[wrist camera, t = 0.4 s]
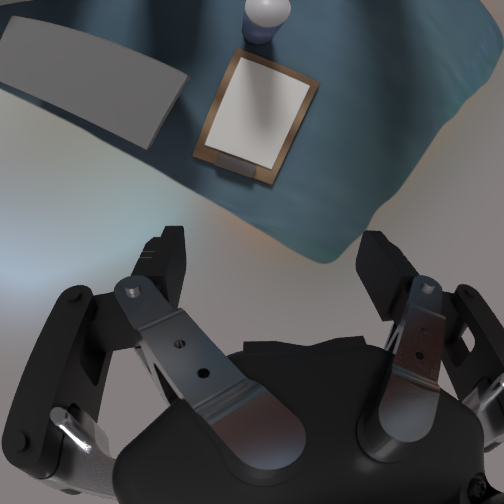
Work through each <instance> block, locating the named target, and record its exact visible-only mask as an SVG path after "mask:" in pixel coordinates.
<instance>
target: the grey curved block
mask: <svg viewBox="0 0 504 504" xmlns="http://www.w3.org/2000/svg"><path fill="white" fill-rule="evenodd" d="M189 79H190V76H188V75H187V74H185V73H183V72H181V71H179V70H177V69H175V68H173V67H171V66H169V65H167V64H165V63H163V62H161V61H158V60H156V59H154V58H152V57H149V56H147V55H145V54H142V53H140V52H138V51H135V50H133V49H130V48H128V47H125V46H122V45H120V44H117V43H115V42H112V41H109V40H106V39H103V38H101V37H98V36H95V35H92V34H89V33H85V32H82V31H79V30H75V29H72V28H68V27H65V26H61V25H57V24H53V23H49V22H45V21H40V20H35V19H29V18H24V17H19V16H12V17H11V19H10V21H9V23H8V25H7V27H6V29H5V31H4V33H3V36H2V38H1V40H0V82H2V83H4V84H7V85H9V86H12V87H14V88H16V89H19V90H21V91H23V92H26V93H28V94H30V95H33V96H35V97H37V98H39V99H42V100H44V101H46V102H48V103H51V104H53V105H55V106H57V107H59V108H62V109H64V110H66V111H68V112H70V113H72V114H74V115H77V116H79V117H81V118H83V119H85V120H87V121H89V122H91V123H93V124H95V125H98V126H100V127H102V128H104V129H106V130H108V131H110V132H112V133H114V134H116V135H118V136H120V137H122V138H124V139H126V140H128V141H130V142H132V143H134V144H136V145H138V146H140V147H142V148H144V149H146V150H147V149H149V148H150V147H151V146H152V144H153V142H154V140H155V138H156V136H157V134H158V132H159V130H160V128H161V127H162V125H163V123H164V121H165V119H166V118H167V116H168V114H169V112H170V110H171V109H172V107H173V105H174V104H175V102H176V100H177V98H178V97H179V95H180V93H181V92H182V90H183V89H184V87H185V85H186V84H187V82H188V80H189Z"/></svg>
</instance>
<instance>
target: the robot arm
mask: <svg viewBox="0 0 504 504" xmlns="http://www.w3.org/2000/svg"><path fill="white" fill-rule="evenodd" d="M185 271H186V250H185V238H184V228H183V226H165V228H164V230H163V233H162V235H161V237H153V238H152V239H151V240H150V241H148V242H147V243H146V244H145V247H144V249H143V252H142V253H141V255H140V258H139V259H138V261H137V263H136V265H135V267H134V270H133V272H132V274H131V276H129V277H126V278H124V279H122V280H120V281H119V282H118V283H117V284H116V286H115V288H114V292H110V293H106V294H100V295H95V296H93V293H92V291H91V289H90V288H89V287H87V286H84V285H77V286H73V287H70V288H68V289H66V290H65V291H64V292H62V293H61V295H60V296H59V298H58V299H57V301H56V303H55V305H54V307H53V309H52V311H51V313H50V315H49V317H48V319H47V321H46V323H45V325H44V327H43V329H42V331H41V333H40V335H39V337H38V339H37V342H36V344H35V346H34V348H33V351H32V353H31V355H30V357H29V360H28V362H27V365H26V367H25V370H24V372H23V375H22V377H21V380H20V382H19V385H18V388H17V391H16V393H15V396H14V400H13V402H12V406H11V408H10V411H9V415H8V418H7V422H6V425H5V429H4V432H3V436H2V449H3V453H4V455H5V457H6V458H7V460H8V461H9V462H10V463H11V464H12V465H14V466H15V467H17V468H19V469H20V470H22V471H24V472H25V473H27V474H28V475H29V476H31V477H32V478H34V479H36V480H38V481H40V482H42V483H44V484H46V485H48V486H50V487H52V488H54V489H58V490H60V491H63V492H65V493H67V494H71V495H77V494H80V493H82V492H83V493H87V494H91V495H95V496H99V497H103V498H108V499H113V500H118V502H119V504H504V493H502V492H500V491H497V490H496V489H494V488H493V487H491V486H490V484H489V483H488V481H487V479H486V476H485V470H484V453H486V452H490V451H491V450H492V449H494V448H495V447H497V446H498V445H500V444H501V443H502V442H504V328H503V326H502V325H501V323H500V322H499V320H498V319H497V318H496V316H495V314H494V313H493V312H492V310H491V309H490V307H489V306H488V304H487V303H486V302H485V300H484V299H483V298H482V296H481V295H480V294H479V292H478V291H477V290H475V289H474V288H473V287H471V286H469V285H465V284H460V285H458V287H457V289H456V290H455V292H454V293H449V292H444V291H442V287H441V286H440V284H439V283H438V282H437V281H435V280H434V279H432V278H430V277H428V276H423V275H419V274H418V272H417V271H416V270H415V268H414V267H413V266H412V264H411V263H410V262H409V261H408V260H407V258H406V257H405V256H404V255H403V253H402V252H401V250H400V249H399V248H398V247H397V246H395V245H394V244H392V243H391V242H389V241H388V239H387V238H386V237H385V235H384V234H383V233H382V232H381V231H368V230H366V231H364V233H363V235H362V239H361V243H360V247H359V251H358V255H357V258H356V271H357V273H358V275H359V277H360V279H361V281H362V283H363V284H364V286H365V288H366V290H367V292H368V294H369V296H370V298H371V300H372V302H373V303H374V305H375V308H376V309H377V311H378V313H379V315H380V317H381V319H382V321H391V320H393V321H394V323H393V325H392V327H391V330H390V333H389V336H388V338H387V341H386V344H385V347H384V349H382V348H379V347H376V346H372V345H367V344H366V342H365V339H364V337H363V336H355V337H344V338H335V339H332V340H328V341H325V342H322V343H319V344H315V345H311V346H302V345H295V344H290V343H283V342H277V341H256V342H255V341H252V342H244V344H243V351H240V352H236V353H234V354H230V355H228V356H225V355H224V354H223V353H222V351H221V350H220V349H219V348H218V347H217V346H216V345H215V344H214V343H213V342H212V341H211V340H210V339H209V337H208V336H207V335H206V334H205V333H204V332H203V331H202V330H201V329H200V328H199V326H198V325H197V324H196V323H195V322H194V321H193V320H192V319H191V317H190V316H189V315H188V314H187V313H186V312H185V311H184V310H183V309H182V308H178V303H179V299H180V294H181V289H182V285H183V281H184V276H185ZM177 308H178V309H177ZM467 327H469V329H470V331H471V332H472V334H473V336H474V338H475V345H474V348H473V350H472V351H471V352H469V350H468V348H467V346H466V344H465V342H464V341H463V339H462V337H461V336H462V334H463V333H464V331H465V330H466V328H467ZM132 347H133V348H134V350H135V352H136V354H137V355H138V357H139V359H140V360H141V362H142V364H143V365H144V367H145V369H146V370H147V372H148V373H149V375H150V376H151V378H152V380H153V381H154V383H155V385H156V386H157V388H158V390H159V392H160V394H161V396H162V397H163V399H164V400H165V402H166V404H167V405H168V406H169V407H168V408H167V409H166V410H165V411H164V412H163V413H162V414H161V415H160V416H159V417H158V418H156V419H155V420H154V421H153V422H152V423H151V424H150V425H149V426H148V427H147V428H146V429H145V430H143V431H142V432H141V433H140V434H139V435H138V436H137V437H136V438H135V439H133V440H132V441H131V442H130V443H129V444H128V445H127V446H126V447H125V448H124V449H123V450H122V451H121V452H120V454H119V455H118V457H117V459H113V458H112V457H111V455H110V453H109V443H108V438H107V436H106V434H105V432H104V431H103V430H102V429H101V428H100V427H99V426H98V425H97V420H98V415H99V410H100V405H101V400H102V395H103V391H104V386H105V382H106V377H107V373H108V369H109V365H110V360H111V357H112V353H113V351H116V350H121V349H127V348H132ZM441 360H442V362H443V364H444V366H445V369H446V371H447V373H448V375H449V378H450V380H451V382H452V385H453V387H454V389H455V392H456V394H457V397H458V399H459V400H457V399H456V398H454V397H453V396H451V395H450V394H449V393H447V392H446V391H444V390H443V389H442V388H440V387H439V385H438V377H439V371H440V365H441Z"/></svg>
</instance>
